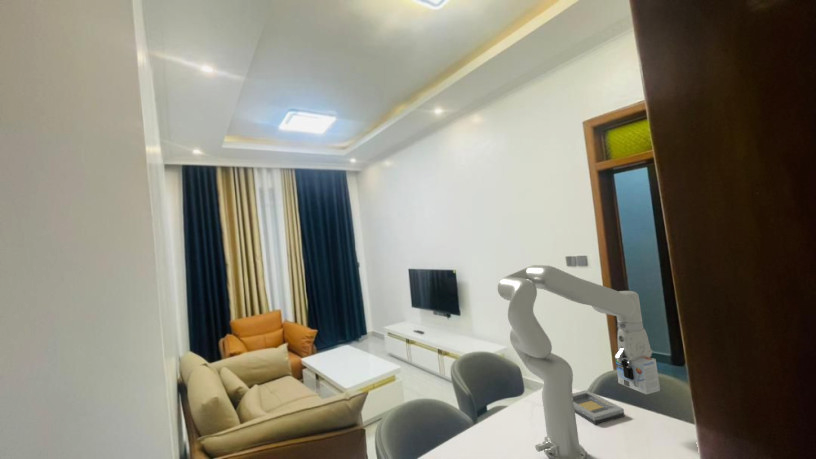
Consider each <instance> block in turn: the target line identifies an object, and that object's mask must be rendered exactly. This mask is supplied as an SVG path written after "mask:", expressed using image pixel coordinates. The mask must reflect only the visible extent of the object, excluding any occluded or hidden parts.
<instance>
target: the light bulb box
mask: <svg viewBox="0 0 816 459" xmlns="http://www.w3.org/2000/svg"><path fill="white" fill-rule="evenodd" d="M616 355H617V353H615V354H614V357H615V356H616ZM625 358H627V357H625ZM627 362H628V360H626V363H627ZM615 367H616V373H617V374H616V375H617V380H618V384H620V385H622V386H625V387H627V388H630V389H632V390H635V391H637V392H639V393H641V394H644V395H649V394H653V393H656V392H660V391H661V387H660V381H659V373H658V366H657V359H656V358H653V357H651V358H650V357H647V358H643V359H639V360H635V361H632V363H631V367H630V368H632V370H633V377H634V379H633V380H631V379H628V378H626V377H624V372H623V366H621V364H620V363H619V362H618V361H617V360H616V359H615Z"/></svg>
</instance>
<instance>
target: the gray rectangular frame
mask: <svg viewBox="0 0 816 459" xmlns="http://www.w3.org/2000/svg"><path fill="white" fill-rule="evenodd" d="M572 394H573V403H574V409H575V415H578V416H580V417H582V418H583V419H585V420H586V421H588V422H590V423H591V424H593V425H595V426H597V425H600V424H604V423H606V422H607V423H608V422H610V421H615V420H618V419H620V418H624V417H625V410H624V408H623V407H621V406H619V405H616V404H615V403H613V402H611V401H609V400H607V399H605V398H604V397H603V398H602V397H601V396H600V395H597V394H595V393H593V392H591V391H589V390H587V389H585V390H582V391H578V392H574V393H573V392H572Z"/></svg>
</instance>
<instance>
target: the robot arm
mask: <svg viewBox="0 0 816 459" xmlns="http://www.w3.org/2000/svg"><path fill="white" fill-rule="evenodd" d="M537 289H539V290H544V291H546V292H549V293H552V294H554V295H557V296H560V297H562V298H563V299H566V300H568V301H571V302H574V303H578V304H580V305H587V306H591V308H592V309H594V311H596V312H598V313H601V314H605V315H610V316H614V317H616V321H617V322H616V323H617V324H616V326H617V336H616V337H617V353H616V354H617V355H616V356H615V355H614V359H615V361H616V360H617V361H618V362H619V363H620V364H621V366H623V372H624V377H626V378H628V379H631V380H633V379H634V377H633V370H632V368H630V367H631V363H632V361H635V360H639V359H643V358H647V357H650V358H652V354H653V349H652V348H651V346H650V340H649V337H648V334H647V331H646V329H645V328H644V324H643V318H642V311H641V310H642V309H641V304H640V298H639V297H640V296H639V294H638V293H637V292H636V291H631V290H619V291H618V290H616V289H613V288H610V287H608V286H607V287H606V286H604V285H601V284H598V283H594V282H592V281H589V280H586V279H584V278H580V277H577V276H575V275H573V274H571V273H568V272H566V271H564V270H561V269H560V268H556V267H554V266H551V265H543V264H539V265H538V264H537V265H536V264H535V265H533V264H532V265H530V266H527V267H525V268H522V269H520V270H518V271H516V272H513V273H511V274H508V275H506V276H504V277H502V278H501V279H500V280H499V282H498V284H497V292H498V294H499V295H500V296H499V297H501V298H503V299H504V300H506V301H509V304H508V307H507V309H508V310H507V320H508V322H509V324H510V326H511V330H510V332H509V339H510V343H511V346H512V348H513V349H514V351H515V353H517V356H518V357H519V359H520V360H521V361H522V363H523V365H524V366H525V367H526V369H527V370H528V371H529V372H530V373H531V374H533V375H534V376H536V377H538V378H540V379H541V380H542V382H543V388H542V392H541V399H542V407H543V413H544V422H545V428H546V436H545V437H544V441H542V443H538V444H535V445H534V447H535V450H536V451H537V452H539V453H540V452H544V454H545V455H546V456H547V457H549V459H586V458H587V454H586V450H585V448H584V447H583V446H582V445H581V444H580V442H579V432H578V424H577V419H576V413H575V409H574V403H573V381H574V379H573V378H574V373H573V369H572V366H571V365H570V364H569V362H568V361H567V360H565V359H564V358H563V357H561V356H560V355H557V354H555V353H553V352H552V350H553V348H552V347H553V346H552V342H551V339H550V338H549V336H548V334H547V333H546V332H545V329H544V328H543V327H542V326H541V325H542V324H540V322H539V321H538V319H537V317H536V315H535V313H534V307H535V302H536V299H537V296H538V290H537ZM625 357H627V358H625ZM626 360H628V362H627V363H626Z"/></svg>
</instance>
